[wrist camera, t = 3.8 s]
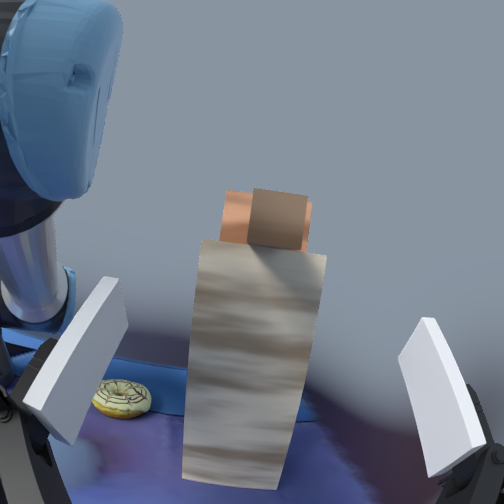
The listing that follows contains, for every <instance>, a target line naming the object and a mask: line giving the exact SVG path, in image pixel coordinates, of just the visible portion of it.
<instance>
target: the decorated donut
mask: <svg viewBox="0 0 504 504" xmlns="http://www.w3.org/2000/svg"><path fill="white" fill-rule="evenodd" d="M92 402H93V404H94V406H95V407H96V408H97V409H98V410H99V411H100V412H102V413H103V414H105V415H107V416H109V417H113V418H120V419H131V418H134V417H137V416H139V415H140V414H143V413H144V412H147V411H148V410H149V409H150V406H151V394H150V392H149V391H148V390H147V388H146V387H145V386H143V385H141V384H139V383H135V382H132V381H128V380H124V379H108V380H102V381H101V383H100V385H99V387H98V389H97V391H96V393H95V396H94V398H93V400H92Z"/></svg>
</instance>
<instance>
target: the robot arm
mask: <svg viewBox="0 0 504 504" xmlns="http://www.w3.org/2000/svg"><path fill="white" fill-rule="evenodd" d="M122 34H123V23H122V18H121V15H120V13H119V11H118V10H117V8H116V7H115V6H114V5H113V4H112V3H110V2H108V1H106V0H0V504H72V503H71V500H70V498H69V496H68V493H67V491H66V488H65V486H64V483H63V481H62V478H61V476H60V473H59V470H58V467H57V464H56V461H55V458H54V455H53V452H52V449H51V446H50V442H49V441H48V439H47V438H48V436H49V433H50V434H51V435H52V436H53V437H54V438H55V439H57V440H59V441H61V442H63V443H65V444H67V445H70V446H72V447H73V445H74V442H75V440H76V437H77V435H78V433H79V430H80V428H81V425H82V423H83V421H84V418H85V416H86V414H87V411H88V409H89V407H90V405H91V402H92V400H93V398H94V396H95V393H96V391H97V389H98V387H99V385H100V383H101V380H102V378H103V376H104V374H105V372H106V370H107V368H108V366H109V364H110V362H111V359H112V357H113V355H114V353H115V351H116V349H117V347H118V345H119V343H120V341H121V339H122V337H123V335H124V333H125V331H126V330H127V328H128V321H127V316H126V311H125V306H124V301H123V296H122V291H121V284H120V279H118V278H113V277H107V276H104V277H103V278H102V280H101V281H100V282H99V283H98V285H97V286H96V288H95V289H94V290H93V292H92V293H91V294H90V296H89V297H88V298H87V300H86V301H85V303H84V304H83V306H82V307H81V309H80V310H79V311H78V313H77V314H76V316H75V317H74V318H73V316H74V312H75V298H76V278H75V272H74V271H73V270H72V269H70V268H67V267H64V266H62V265H61V264H60V262H59V261H58V260H57V258H56V257H57V256H56V211H57V210H58V209H59V208H60V207H61V205H62V204H63V203H64V201H65V200H66V199H76V198H80V197H81V196H82V195H83V194H85V193H86V192H87V191H88V189H89V187H90V186H91V183H92V180H93V176H94V171H95V168H96V163H97V158H98V153H99V148H100V144H101V140H102V135H103V129H104V124H105V117H106V112H107V105H108V102H109V99H110V95H111V91H112V86H113V81H114V76H115V72H116V67H117V62H118V57H119V52H120V47H121V41H122ZM1 327H4V328H12V329H19V330H27V331H36V332H45V333H52V334H58V333H63V335H62V336H61V338H60V339H59V341H58V340H56V339H53V338H49V339H48V340H47V341H46V342H44V343H43V344H42V345H40V347H39V348H38V350H37V351H36V353H35V355H34V358H32V359H31V361H30V362H29V366H27V367H26V369H25V370H24V372H23V374H22V375H21V377H20V379H19V380H18V382H17V384H16V385H15V387H14V389H13V390H12V392H11V394H10V395H9V394H8V393H7V392H6V390H5V389H4V388H5V387H7V386H8V385H10V384H11V383H12V381H13V380H14V376H15V374H14V367H13V363H12V360H11V358H10V355H9V353H8V350H7V348H6V345H5V343H4V340H3V337H2V329H1ZM398 361H399V364H400V367H401V370H402V374H403V377H404V380H405V384H406V387H407V390H408V394H409V397H410V401H411V404H412V408H413V412H414V415H415V420H416V423H417V427H418V432H419V436H420V440H421V444H422V448H423V453H424V458H425V462H426V468H427V473H428V477H429V478H430V477H434V476H437V475H441V474H444V473H445V472H447V471H448V470H450V469H451V468H452V471H453V473H451V474H450V475H448V476H446V477H445V478H443V479H442V480H440V481H439V483H438V485H440V484H442V483H444V482H445V481H446V483H445V484H444V485H442V487H443V490H442V492H441V494H440V496H439V498H438V500H437V502H436V504H504V490H503V489H504V446H502V445H501V444H498V443H496V444H495V443H494V440H493V438H492V435H491V432H490V429H489V426H488V423H487V420H486V418H485V415H484V413H483V409H482V407H481V405H480V402H479V399H478V397H477V394H476V392H475V391H474V390H473V388H472V387H471V386H470V385H469V384H466V385H465V382H464V380H463V378H462V375H461V373H460V371H459V368H458V366H457V364H456V362H455V359H454V357H453V355H452V353H451V351H450V348H449V346H448V345H447V342H446V340H445V338H444V336H443V334H442V332H441V330H440V328H439V326H438V324H437V322H436V320H435V318H423V317H422V318H421V320H420V322H419V324H418V325H417V327H416V329H415V330H414V332H413V334H412V335H411V337H410V339H409V340H408V342H407V344H406V346H405V347H404V348H403V350H402V352H401V353H400V355H399V357H398Z"/></svg>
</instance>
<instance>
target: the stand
mask: <svg viewBox="0 0 504 504" xmlns="http://www.w3.org/2000/svg"><path fill="white" fill-rule="evenodd" d="M326 257H327V256H325V255H318V254H311V253H304V252H297V251H290V250H282V249H275V248H268V247H261V246H253V245H246V244H239V243H231V242H224V241H216V240H209V239H202V243H201V250H200V257H199V265H198V274H197V281H196V290H195V299H194V308H193V317H192V327H191V338H190V349H189V361H188V372H187V386H186V400H185V417H184V436H183V461H182V479H187V480H193V481H198V482H204V483H210V484H217V485H224V486H232V487H242V488H253V489H268V490H277V487H278V483H279V480H280V477H281V473H282V470H283V466H284V463H285V459H286V456H287V452H288V448H289V444H290V441H291V437H292V433H293V429H294V425H295V421H296V417H297V413H298V409H299V404H300V400H301V396H302V391H303V387H304V382H305V378H306V373H307V368H308V363H309V358H310V353H311V348H312V343H313V338H314V332H315V327H316V321H317V316H318V310H319V304H320V298H321V291H322V285H323V279H324V272H325V265H326Z"/></svg>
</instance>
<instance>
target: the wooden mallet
mask: <svg viewBox="0 0 504 504" xmlns="http://www.w3.org/2000/svg"><path fill="white" fill-rule="evenodd" d="M307 198H308V196H304V195H297V194H290V193H284V192H278V191H277V192H276V191H270V190H263V189H255V188H254V191H253V193H247V192H239V191H231V190H227V192H226V198H225V205H224V212H223V219H222V226H221V233H220V240H219V241H224V242H231V243H239V244H246V245H253V246H261V247H268V248H275V249H282V250H290V251H297V252H304V253H306V248H307V241H308V234H309V226H310V217H311V209H312V202H309V201H307Z"/></svg>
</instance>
